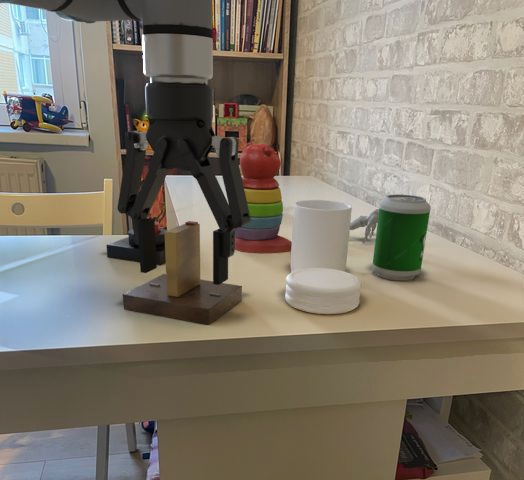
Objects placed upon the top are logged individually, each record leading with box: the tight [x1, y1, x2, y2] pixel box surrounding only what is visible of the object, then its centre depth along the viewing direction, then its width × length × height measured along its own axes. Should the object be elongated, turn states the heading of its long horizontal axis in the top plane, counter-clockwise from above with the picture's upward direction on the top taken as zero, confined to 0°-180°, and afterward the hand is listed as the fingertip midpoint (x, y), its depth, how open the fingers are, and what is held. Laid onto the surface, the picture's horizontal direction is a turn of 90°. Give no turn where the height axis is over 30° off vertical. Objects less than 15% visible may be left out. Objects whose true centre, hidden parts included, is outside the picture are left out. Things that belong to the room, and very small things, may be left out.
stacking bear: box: [235, 141, 292, 254], centre depth 98 cm, size 11×10×18 cm
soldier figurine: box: [350, 208, 379, 244], centre depth 109 cm, size 6×5×12 cm
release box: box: [105, 227, 169, 266], centre depth 93 cm, size 10×10×4 cm
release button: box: [155, 220, 161, 234], centre depth 92 cm, size 4×4×2 cm
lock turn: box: [165, 220, 201, 297], centre depth 70 cm, size 6×2×8 cm, turn 158°
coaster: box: [284, 268, 362, 315], centre depth 75 cm, size 10×10×4 cm
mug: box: [290, 199, 353, 273], centre depth 87 cm, size 9×12×11 cm
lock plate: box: [122, 273, 243, 326], centre depth 72 cm, size 12×10×2 cm
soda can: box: [371, 193, 432, 281], centre depth 86 cm, size 8×8×12 cm
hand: (183, 275), depth 71 cm, fingers open, 10 cm apart
